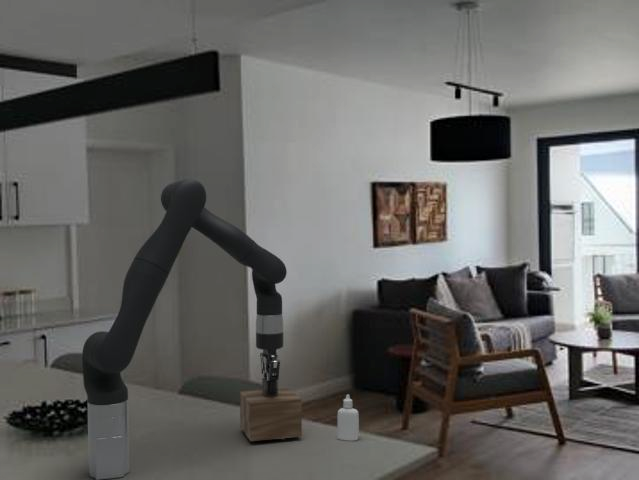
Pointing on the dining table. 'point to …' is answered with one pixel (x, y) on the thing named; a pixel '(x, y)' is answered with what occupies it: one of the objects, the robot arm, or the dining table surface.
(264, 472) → the dining table surface
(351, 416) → the eye dropper bottle
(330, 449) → the dining table surface
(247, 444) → the dining table surface
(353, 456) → the dining table surface
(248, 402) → the cover
